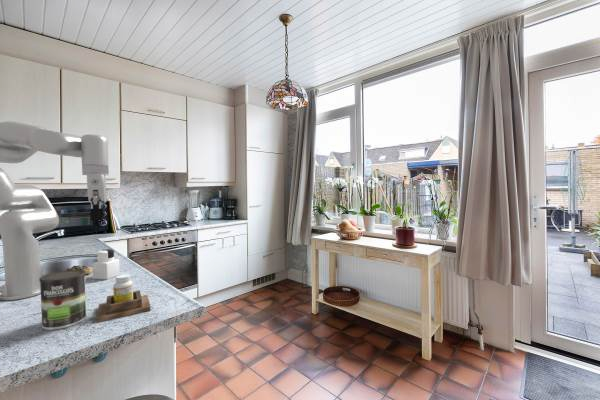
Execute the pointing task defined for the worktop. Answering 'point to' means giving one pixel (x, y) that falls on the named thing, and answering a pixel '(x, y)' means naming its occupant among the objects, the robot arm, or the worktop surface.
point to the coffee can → (63, 299)
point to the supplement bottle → (123, 288)
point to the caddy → (123, 307)
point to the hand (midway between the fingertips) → (97, 219)
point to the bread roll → (85, 268)
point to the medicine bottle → (105, 265)
